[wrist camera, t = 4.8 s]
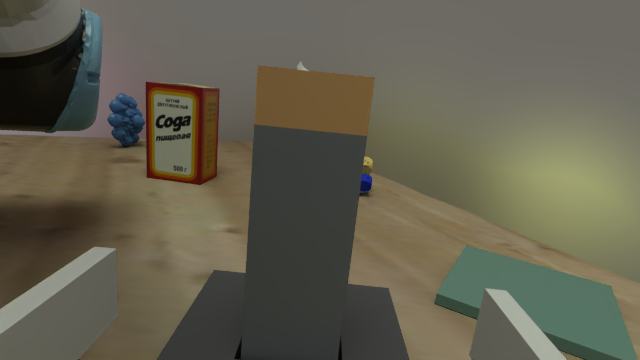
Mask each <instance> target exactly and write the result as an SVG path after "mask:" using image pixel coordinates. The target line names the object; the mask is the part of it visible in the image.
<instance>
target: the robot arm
mask: <svg viewBox="0 0 640 360" xmlns="http://www.w3.org/2000/svg"><path fill="white" fill-rule="evenodd" d="M101 57H102V21H101V18H100V17H99V16H98V15H97V14H96V13H93V12H90V11H88V10H87V9H82V8H81V7H80V3H79V0H0V130H18V131H39V132H40V131H41V132H46V133H53V132H56V131H80V130H85V129H87V128H89V127H90V126H91V125H92V124H93V123H94V122H95V119H96V115H97V108H98V100H99V85H100V80H99V77H100V69H101ZM117 318H118V293H117V264H116V249H113V248H104V247H93V248H92V249H90V250H89V251H87V252H86V253H84V254H83V255H81V256H80V257H78V258H76V259H75V260H73V261H72V262H70V263H69V264H67V265H66V266H64V267H63V268H61V269H60V270H58V271H57V272H55V273H54V274H52V275H51V276H49V277H48V278H46V279H45V280H43V281H42V282H40V283H39V284H37V285H36V286H34V287H33V288H31V289H30V290H28V291H27V292H25V293H24V294H22V295H21V296H19V297H18V298H16V299H15V300H13V301H12V302H10V303H9V304H7V305H6V306H4V307H2V308H1V309H0V360H78V359H79V358H80V357H81V356H82V355H83V354H84V353H85V352H86V351H87V350H88V349H89V348H90V347H91V346H92V345H93V343H94V342H95V341H96V340H97V339H98V338H99V337H100V336H101V335H102V334H103V333H104V332H105V331H106V330H107V329H108V327H109V326H110V325H111V324H112V323H113V322H114V321H115V320H116V319H117ZM469 355H470V357H471V359H472V360H567V359H566V358H565V357H564V356H563V355H562V354H561V353H560V351H559V350H558V349H557V348H556V347H555V346H554V345H553V343H552V342H551V341H550V340H549V339H548V338H547V337H546V335H545V334H544V333H543V332H542V331H541V330H540V329H539V327H538V326H537V325H536V324H535V323H534V322H533V320H532V319H531V318H530V317H529V316H528V315H527V314H526V312H525V311H524V310H523V309H522V308H521V307H520V306H519V304H518V303H517V302H516V301H515V300H514V299H513V298H512V296H511V295H510V294H509V293H508V292H507V291H506V290H496V289H487V288H485V290H484V294H483V298H482V302H481V307H480V311H479V315H478V320H477V324H476V328H475V333H474V337H473V341H472V346H471V350H470V354H469Z"/></svg>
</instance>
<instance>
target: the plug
mask: <svg viewBox="0 0 640 360" xmlns="http://www.w3.org/2000/svg"><path fill="white" fill-rule="evenodd" d="M374 79H375V78H373V77H363V76H354V75H345V74H335V73H325V72H316V71H306V70H297V69H287V68H277V67H268V66H258V73H257V89H256V106H255V123H254V141H253V158H252V175H251V192H250V209H249V226H248V243H247V261H246V278H245V295H244V312H243V329H242V347H241V360H338V353H339V345H340V338H341V330H342V322H343V315H344V307H345V300H346V292H347V285H348V277H349V269H350V262H351V254H352V247H353V239H354V231H355V224H356V216H357V209H358V201H359V194H360V186H361V178H362V171H363V163H364V155H365V148H366V140H367V133H368V125H369V118H370V109H371V103H372V95H373V87H374Z"/></svg>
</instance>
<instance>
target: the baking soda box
mask: <svg viewBox="0 0 640 360" xmlns="http://www.w3.org/2000/svg"><path fill="white" fill-rule="evenodd" d="M182 84H183V83H182ZM218 117H219V89H218V88H212V87H205V86H199V85H191V84H185V85H181V84H172V83H157V82H146V149H147V178H154V179H162V180H169V181H176V182H183V183H191V184H198V185H201V184H203V183H205V182H207V181H209V180H211V179H212V178H214V177H216V175H217V146H218Z"/></svg>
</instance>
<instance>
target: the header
mask: <svg viewBox="0 0 640 360" xmlns="http://www.w3.org/2000/svg"><path fill="white" fill-rule="evenodd" d="M245 278H246V273H238V272H229V271H219V270H214V271H213V273H212V274H211V276H210V277H209V279H208V280H207V282H206V284H205V285H204V287H203V288H202V290H201V291H200V293H199V294H198V296H197V298H196V299H195V301H194V302H193V304H192V305H191V307H190V308H189V310H188V312H187V313H186V315H185V316H184V318H183V319H182V321H181V322H180V324H179V326H178V327H177V329H176V330H175V332H174V333H173V335H172V336H171V338H170V340H169V341H168V343H167V344H166V346H165V347H164V349H163V350H162V352H161V354H160V355H159V357H158V358H157V360H241V347H242V329H243V312H244V295H245ZM338 360H409V357H408V353H407V350H406V346H405V343H404V340H403V336H402V333H401V329H400V326H399V323H398V319H397V316H396V313H395V309H394V306H393V302H392V299H391V296H390V292H389V289H388V288H381V287H372V286H362V285H353V284H348V285H347V292H346V300H345V307H344V315H343V322H342V330H341V338H340V345H339V353H338Z"/></svg>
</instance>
